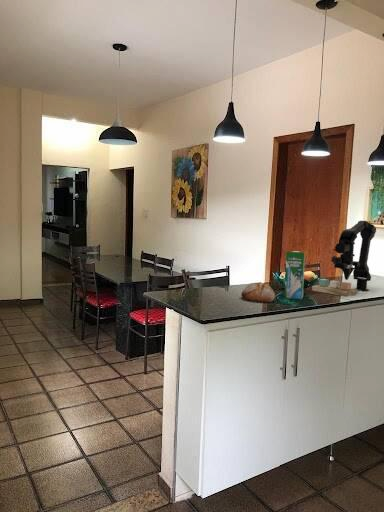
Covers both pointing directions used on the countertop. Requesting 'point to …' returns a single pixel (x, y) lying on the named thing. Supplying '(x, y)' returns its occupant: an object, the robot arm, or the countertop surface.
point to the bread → (258, 292)
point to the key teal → (323, 282)
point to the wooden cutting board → (334, 290)
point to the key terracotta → (345, 285)
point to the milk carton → (294, 275)
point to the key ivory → (335, 284)
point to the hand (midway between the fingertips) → (346, 279)
